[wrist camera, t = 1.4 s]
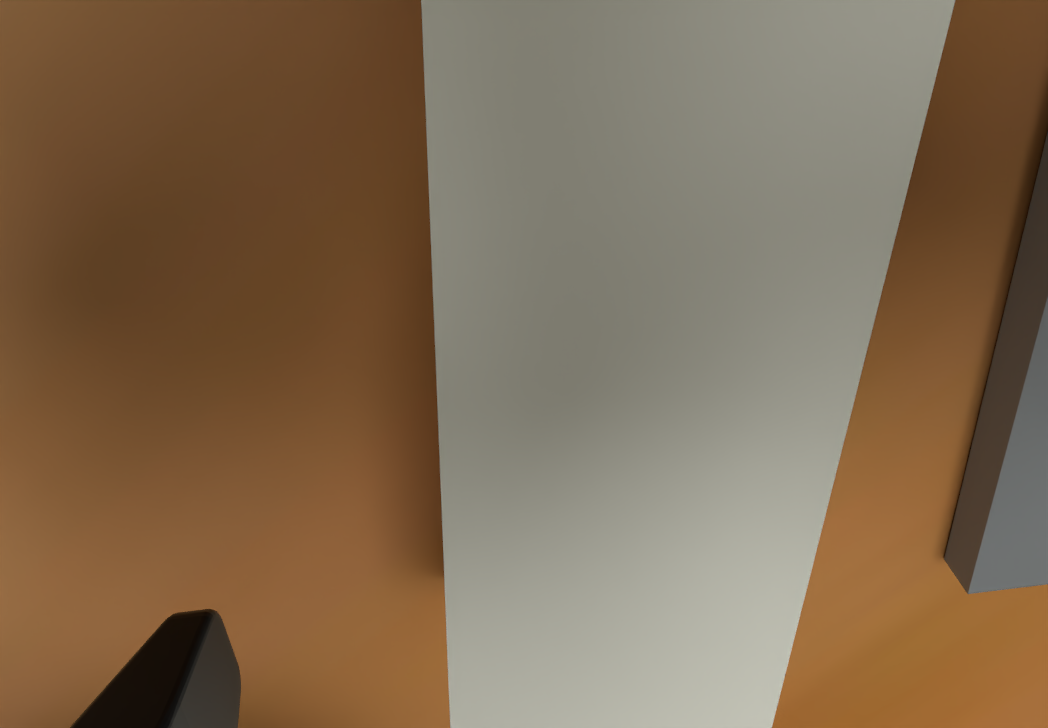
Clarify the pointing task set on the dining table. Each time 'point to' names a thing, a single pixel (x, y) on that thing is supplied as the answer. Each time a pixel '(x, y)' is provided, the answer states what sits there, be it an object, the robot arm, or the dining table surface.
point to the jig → (1011, 433)
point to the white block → (652, 333)
